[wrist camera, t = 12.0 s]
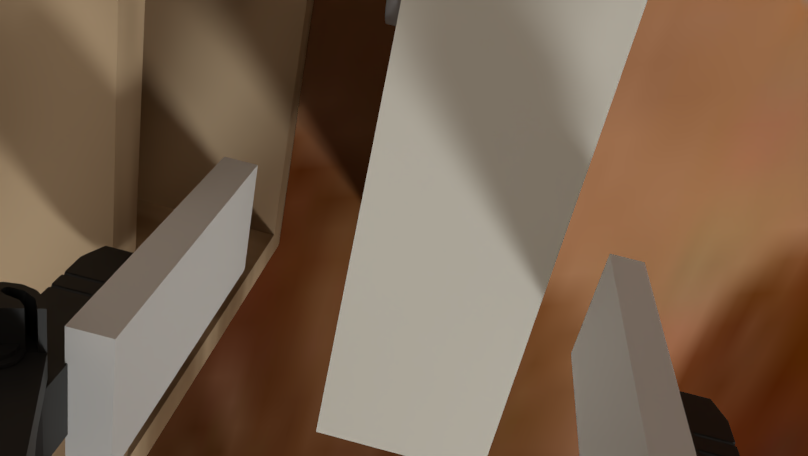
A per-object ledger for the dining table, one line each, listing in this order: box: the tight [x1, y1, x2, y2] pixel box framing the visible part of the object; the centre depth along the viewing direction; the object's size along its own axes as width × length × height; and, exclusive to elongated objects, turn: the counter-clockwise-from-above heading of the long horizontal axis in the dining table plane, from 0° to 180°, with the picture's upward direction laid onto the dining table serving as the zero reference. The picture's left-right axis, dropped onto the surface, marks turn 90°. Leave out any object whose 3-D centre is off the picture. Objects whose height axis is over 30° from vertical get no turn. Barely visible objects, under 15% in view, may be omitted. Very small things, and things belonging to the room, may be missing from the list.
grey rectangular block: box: [316, 0, 647, 456], centre depth 22 cm, size 5×13×11 cm, turn 169°
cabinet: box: [0, 0, 314, 456], centre depth 21 cm, size 13×16×14 cm
